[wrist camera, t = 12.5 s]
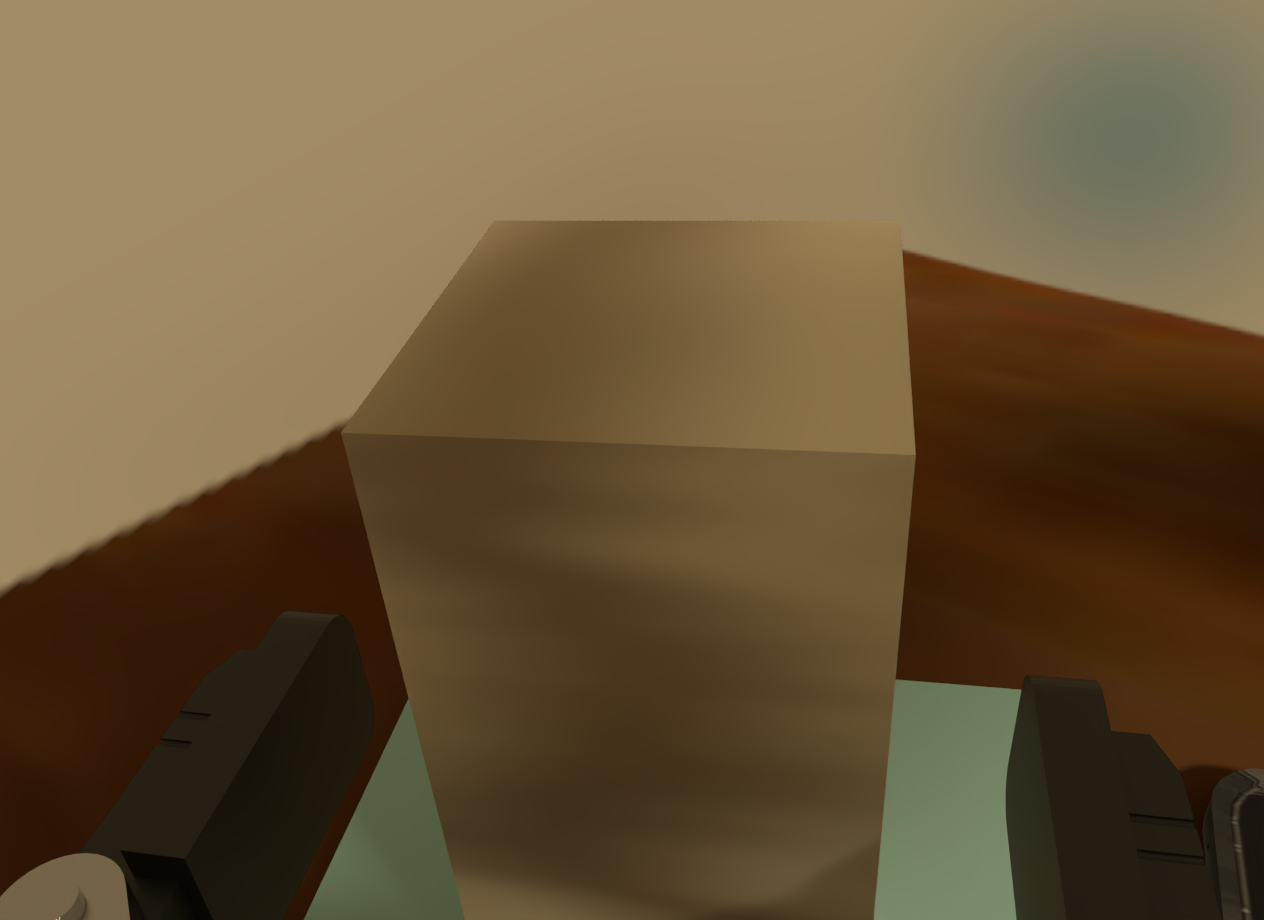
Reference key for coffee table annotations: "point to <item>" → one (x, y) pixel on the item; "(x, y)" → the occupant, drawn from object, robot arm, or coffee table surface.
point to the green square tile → (910, 840)
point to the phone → (1237, 844)
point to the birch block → (651, 563)
